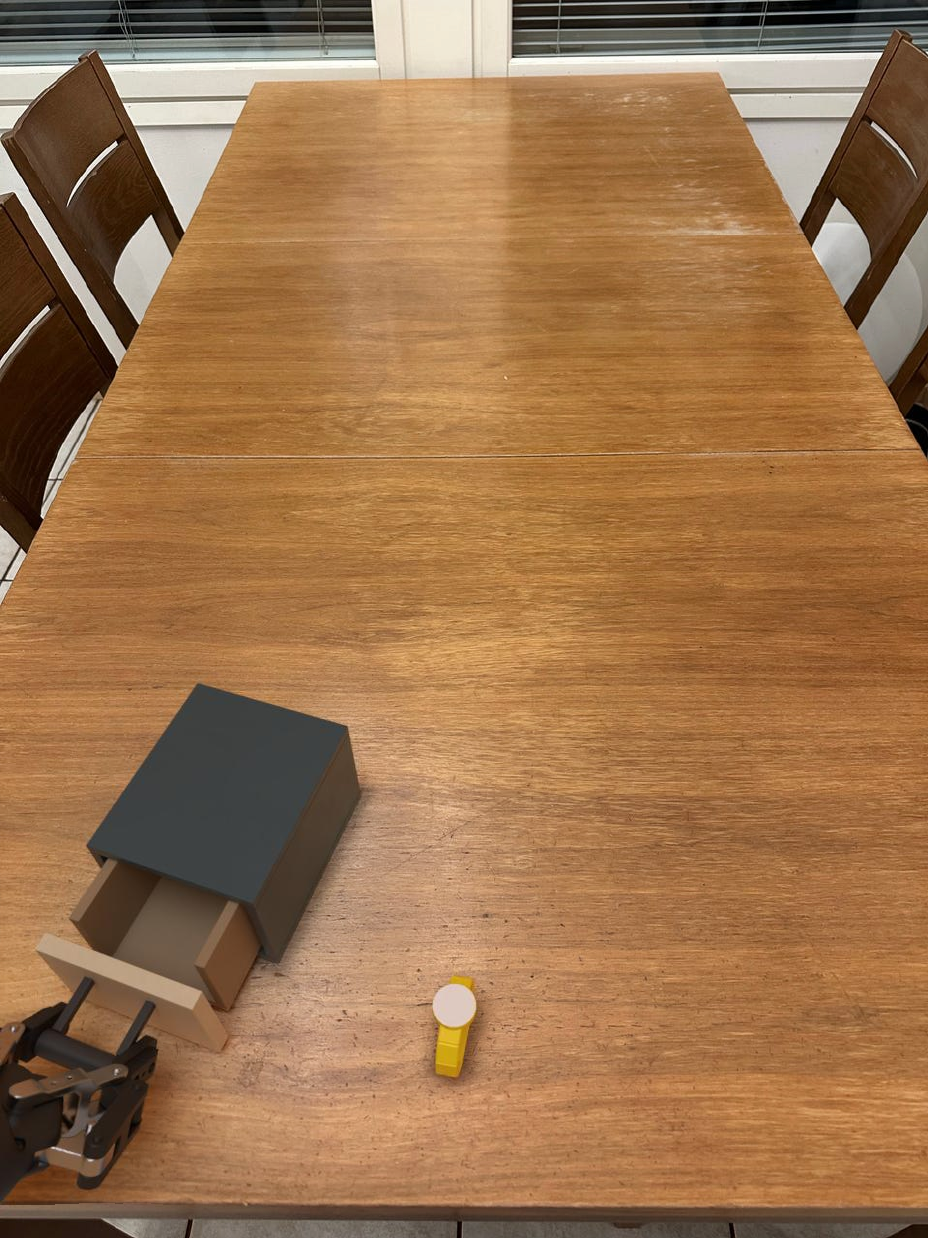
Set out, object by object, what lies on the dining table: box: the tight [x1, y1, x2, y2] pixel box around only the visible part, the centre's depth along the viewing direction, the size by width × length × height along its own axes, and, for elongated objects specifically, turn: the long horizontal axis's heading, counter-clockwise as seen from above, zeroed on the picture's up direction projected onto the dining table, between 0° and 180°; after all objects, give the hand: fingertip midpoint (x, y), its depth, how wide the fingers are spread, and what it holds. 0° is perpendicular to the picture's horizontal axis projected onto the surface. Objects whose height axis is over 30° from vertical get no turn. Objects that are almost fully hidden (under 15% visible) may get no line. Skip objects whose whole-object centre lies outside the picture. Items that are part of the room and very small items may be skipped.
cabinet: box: [85, 682, 362, 965], centre depth 70 cm, size 15×13×10 cm
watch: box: [431, 974, 478, 1078], centre depth 61 cm, size 6×3×6 cm, turn 169°
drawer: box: [34, 858, 262, 1073], centre depth 63 cm, size 18×11×8 cm, turn 160°
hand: (107, 1034), depth 59 cm, fingers closed on drawer, 5 cm apart
